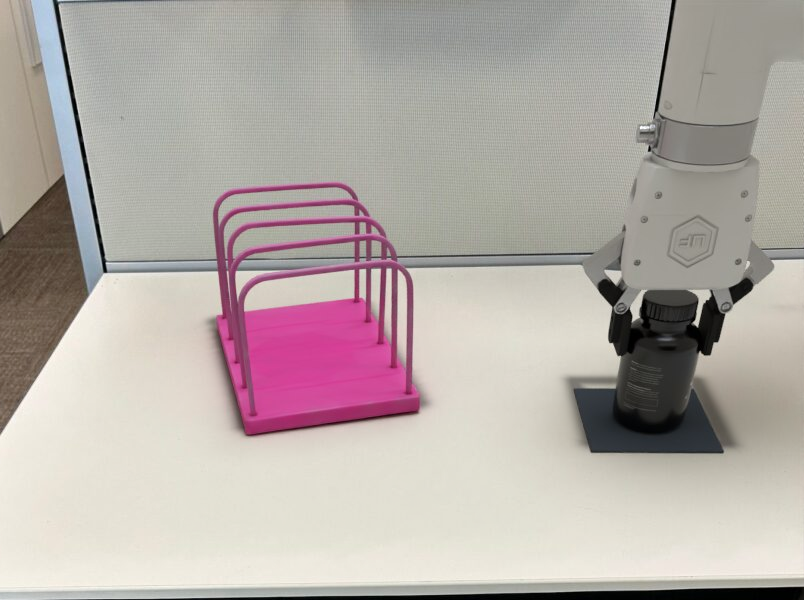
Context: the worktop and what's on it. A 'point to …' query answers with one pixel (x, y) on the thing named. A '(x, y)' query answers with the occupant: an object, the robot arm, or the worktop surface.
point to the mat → (618, 438)
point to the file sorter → (313, 330)
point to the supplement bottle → (658, 363)
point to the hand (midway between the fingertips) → (660, 348)
